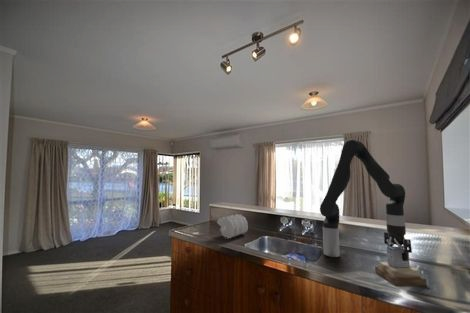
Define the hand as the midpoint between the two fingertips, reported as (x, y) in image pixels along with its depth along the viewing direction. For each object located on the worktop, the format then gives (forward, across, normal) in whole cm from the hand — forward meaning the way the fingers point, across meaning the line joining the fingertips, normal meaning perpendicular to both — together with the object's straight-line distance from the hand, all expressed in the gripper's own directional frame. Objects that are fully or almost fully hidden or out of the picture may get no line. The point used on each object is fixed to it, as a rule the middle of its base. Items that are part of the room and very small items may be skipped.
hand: (397, 257), depth 103 cm
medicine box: (+4, 0, 0) cm, 4 cm away
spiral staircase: (+10, +74, +80) cm, 109 cm away
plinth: (+10, 0, 0) cm, 10 cm away
